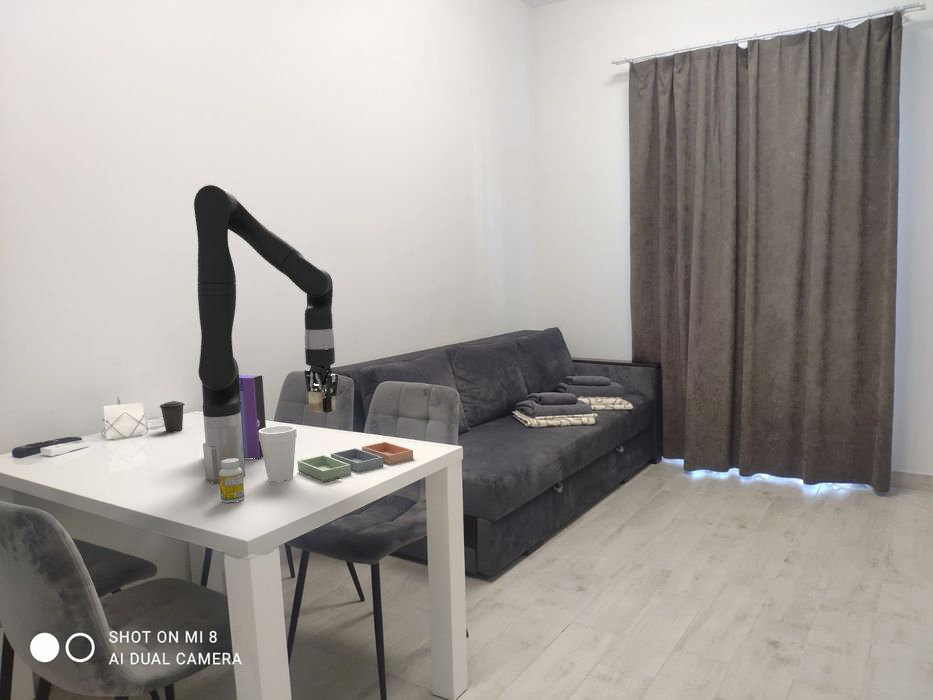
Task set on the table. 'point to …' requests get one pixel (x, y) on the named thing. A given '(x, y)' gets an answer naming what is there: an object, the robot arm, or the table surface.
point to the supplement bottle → (231, 481)
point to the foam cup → (278, 451)
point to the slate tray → (358, 459)
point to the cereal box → (251, 414)
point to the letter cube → (318, 401)
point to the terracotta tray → (389, 452)
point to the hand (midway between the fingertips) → (322, 410)
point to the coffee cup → (172, 415)
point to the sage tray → (324, 468)
